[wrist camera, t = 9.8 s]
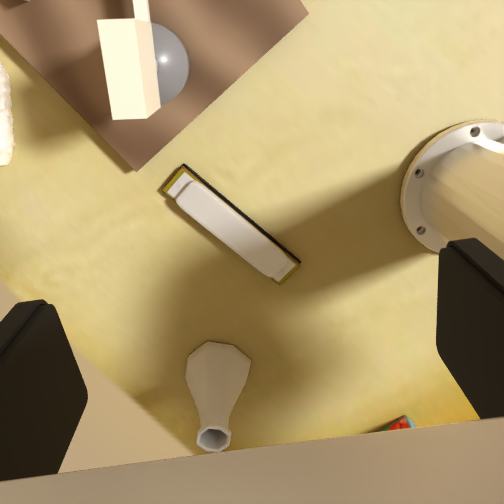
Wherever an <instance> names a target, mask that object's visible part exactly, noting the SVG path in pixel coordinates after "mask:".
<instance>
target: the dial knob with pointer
mask: <svg viewBox="0 0 504 504" xmlns="http://www.w3.org/2000/svg"><path fill="white" fill-rule="evenodd" d="M133 7H134V15H135V19H134V18H132V19H105V20H97V25H98V31H99V37H100V43H101V50H102V56H103V62H104V69H105V75H106V81H107V87H108V94H109V100H110V106H111V112H112V119H113V120H122V119H147V118H148V117H149V116H151V115H152V114H153V113H154V112H156V111H157V110H158V109H159V108H161V106H162V105H164V104H166V103H168V102H170V101H171V100H172V99H174V98H175V97H176V96H177V95H178V94H179V93H180V92H181V91H182V90H183V89H184V87H185V86H186V84H187V82H188V79H189V75H190V69H191V66H190V57H189V53H188V51H187V48H186V46H185V44H184V43H183V41H182V40H181V38H180V37H179V36H178V35H177V34H176V33H175V32H173V31H172V30H170V29H169V28H167V27H165V26H162V25H159V24H155V23H152V22H151V21H150V12H149V4H148V0H133Z"/></svg>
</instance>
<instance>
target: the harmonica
mask: <svg viewBox="0 0 504 504" xmlns="http://www.w3.org/2000/svg"><path fill="white" fill-rule="evenodd" d="M162 191H163V192H164V193H166V194H167V195H168V196H169V197H170V198H172V199H173V200H174V201H175V202H176V203H177V204H178V206H179V207H180V208H181V209H182V210H184V211H185V212H186V213H187V214H188V215H190V216H191V217H192V218H193V219H195V220H196V221H197V222H198V223H200V224H201V225H202V226H203V227H205V228H206V229H207V230H208V231H210V232H211V233H212V234H213V235H215V236H216V237H217V238H218V239H220V240H221V241H222V242H223V243H225V244H226V245H227V246H228V247H230V248H231V249H232V250H233V251H235V252H236V253H237V254H238V255H240V256H241V257H242V258H243V259H245V260H246V261H247V262H248V263H250V264H251V265H252V266H253V267H255V268H256V269H257V270H258V271H260V272H261V273H262V274H264V275H265V276H267V277H270V278H271V279H273V280H274V281H275V282H276V283H278V284H279V285H281V284H282V283H283V282H284V281H285V280H286V279H287V278H288V277H289V276H290V275H291V274H292V273H293V272H294V271H295V270H296V269H298V268H299V267H300V263H301V261H300V260H299V259H298V258H297V257H295V256H294V255H293V254H292V253H291V252H289V251H288V250H287V249H286V248H285V247H283V246H282V245H281V244H280V243H279V242H278V241H276V240H275V239H274V238H273V237H272V236H270V235H269V234H268V233H267V232H266V231H264V230H263V229H262V228H261V227H260V226H258V225H257V224H256V223H255V222H254V221H253V220H251V219H250V218H249V217H248V216H247V215H245V214H244V213H243V212H242V211H241V210H239V209H238V208H237V207H236V206H235V205H234V204H232V203H231V202H230V201H229V200H228V199H226V198H225V197H224V196H223V195H222V194H220V193H219V192H218V191H217V190H216V189H214V188H213V187H212V186H211V185H210V184H209V183H207V182H206V181H205V180H204V179H203V178H201V177H200V176H199V175H198V174H197V173H195V172H194V171H193V170H192V169H191V168H189V167H188V166H187V165H186V164H183V165H182V166H181V168H180V169H179V170H178V171H177V172H176V174H175V175H174V176H173V177H172V178H171V179H170V181H169V182H168V183H167V184H166V185H165V186H164V188H163V190H162Z"/></svg>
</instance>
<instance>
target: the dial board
mask: <svg viewBox="0 0 504 504" xmlns="http://www.w3.org/2000/svg"><path fill="white" fill-rule="evenodd" d="M148 4H149V12H150V21H151V22H152V23H155V24H159V25H162V26H165V27H167V28H169V29H170V30H172V31H173V32H175V33H176V34H177V35H178V36H179V37H180V38H181V40H182V41H183V43H184V44H185V46H186V48H187V51H188V53H189V57H190V66H191V69H190V75H189V79H188V82H187V84H186V86H185V87H184V89H183V90H182V91H181V92H180V93H179V94H178V95H177V96H176V97H175V98H174V99H172V100H171V101H170V102H168V103H166V104H164V105H162V106H161V108H159V109H158V110H157V111H156V112H154V113H153V114H152V115H151V116H149V117H148V118H147V119H122V120H113V119H112V112H111V106H110V100H109V94H108V87H107V81H106V75H105V69H104V62H103V56H102V50H101V43H100V37H99V31H98V25H97V20H105V19H132V18H134V19H135V15H134V7H133V0H0V34H1V35H2V36H3V37H4V38H5V39H6V40H7V41H8V42H9V43H10V44H11V45H12V46H13V47H14V48H15V49H16V50H17V51H18V52H19V53H20V54H21V55H22V57H23V58H24V59H25V60H26V61H27V62H28V63H29V64H30V65H31V66H32V67H33V68H34V69H35V70H36V71H37V72H38V73H39V74H40V75H41V76H42V77H43V78H44V79H45V80H46V81H47V82H48V83H49V84H50V85H51V86H52V87H53V88H54V89H55V90H56V91H57V92H58V93H59V94H60V95H61V96H62V97H63V98H64V99H65V100H66V101H67V102H68V103H69V104H70V105H71V106H72V107H73V108H74V109H75V110H76V111H77V112H78V113H79V114H80V115H81V116H82V117H83V118H84V119H85V120H86V121H87V123H88V124H89V125H90V126H91V127H92V128H93V129H94V130H95V131H96V132H97V133H98V134H99V135H100V136H101V137H102V138H103V139H104V140H105V141H106V142H107V143H108V144H109V145H110V146H111V147H112V148H113V149H114V150H115V151H116V152H117V153H118V154H119V155H120V156H121V157H122V158H123V159H124V160H125V161H126V162H127V163H128V164H129V165H130V166H131V167H132V168H133V169H134V170H135V171H136V172H137V171H138V170H139V169H141V168H142V167H143V166H144V165H145V164H146V163H147V162H148V161H149V160H150V159H151V158H152V157H154V156H155V155H156V154H157V153H158V152H159V151H160V150H161V149H162V148H163V147H164V146H166V145H167V144H168V143H169V142H170V141H171V140H172V139H173V138H174V137H175V136H176V135H178V134H179V133H180V132H181V131H182V130H183V129H184V128H185V127H186V126H187V125H188V124H189V123H191V122H192V121H193V120H194V119H195V118H196V117H197V116H198V115H199V114H200V113H201V112H203V111H204V110H205V109H206V108H207V107H208V106H209V105H210V104H211V103H212V102H213V101H215V100H216V99H217V98H218V97H219V96H220V95H221V94H222V93H223V92H224V91H225V90H226V89H228V88H229V87H230V86H231V85H232V84H233V83H234V82H235V81H236V80H237V79H238V78H240V77H241V76H242V75H243V74H244V73H245V72H246V71H247V70H248V69H249V68H250V67H252V66H253V65H254V64H255V63H256V62H257V61H258V60H259V59H260V58H261V57H262V56H263V55H265V54H266V53H267V52H268V51H269V50H270V49H271V48H272V47H273V46H274V45H275V44H277V43H278V42H279V41H280V40H281V39H282V38H283V37H284V36H285V35H286V34H287V33H289V32H290V31H291V30H292V29H293V28H294V27H295V26H296V25H297V24H298V23H299V22H300V21H302V20H303V19H304V18H305V17H306V16H307V15H308V14H309V12H308V11H307V10H306V8H305V7H304V5H303V4H302V2H301V1H300V0H148Z"/></svg>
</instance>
